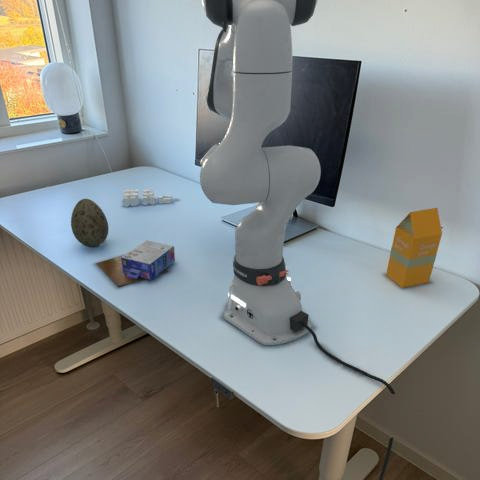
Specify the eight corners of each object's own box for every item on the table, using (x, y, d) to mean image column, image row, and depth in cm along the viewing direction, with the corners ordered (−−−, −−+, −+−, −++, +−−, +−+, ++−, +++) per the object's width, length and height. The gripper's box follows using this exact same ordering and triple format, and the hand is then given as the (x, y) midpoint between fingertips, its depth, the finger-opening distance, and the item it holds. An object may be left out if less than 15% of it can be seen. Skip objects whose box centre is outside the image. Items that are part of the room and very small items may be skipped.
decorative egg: (94, 235, 151) (85, 190, 142) (118, 242, 146) (111, 197, 138) (68, 248, 143) (57, 201, 135) (93, 256, 139) (84, 208, 130)
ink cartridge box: (148, 256, 138) (117, 277, 128) (146, 239, 135) (114, 259, 125) (176, 262, 135) (146, 285, 124) (174, 245, 132) (144, 266, 121)
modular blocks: (124, 206, 171) (122, 196, 169) (124, 200, 177) (123, 190, 175) (177, 203, 175) (176, 192, 172) (176, 196, 180) (175, 186, 178)
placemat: (143, 250, 142) (143, 249, 142) (167, 271, 131) (167, 270, 131) (96, 264, 135) (96, 262, 135) (118, 287, 124) (118, 286, 124)
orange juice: (385, 274, 130) (399, 206, 118) (411, 269, 132) (427, 202, 121) (402, 288, 124) (419, 218, 112) (429, 282, 126) (448, 213, 115)
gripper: (212, 134, 139) (185, 173, 140) (252, 150, 125) (222, 192, 126) (224, 147, 144) (199, 184, 145) (264, 163, 130) (236, 204, 131)
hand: (210, 188), depth 136 cm, fingers closed
